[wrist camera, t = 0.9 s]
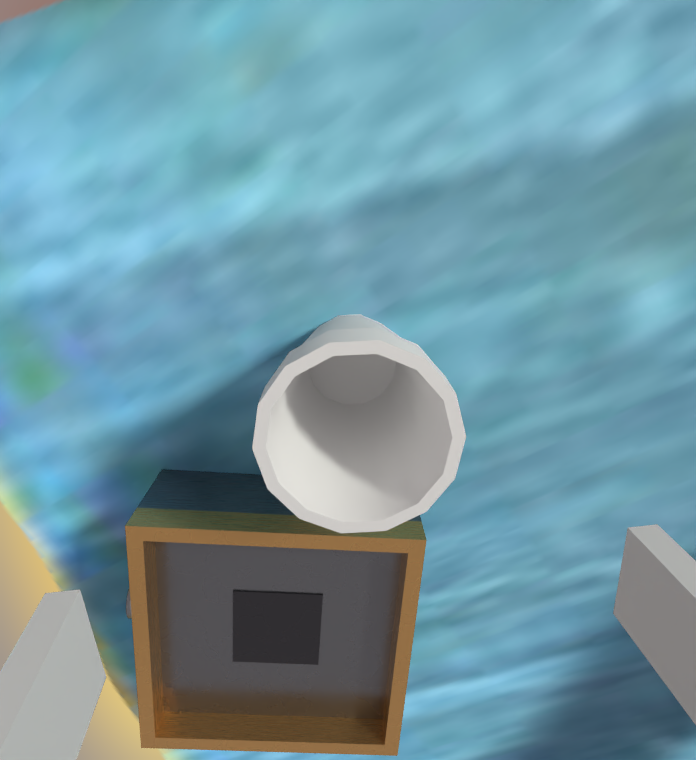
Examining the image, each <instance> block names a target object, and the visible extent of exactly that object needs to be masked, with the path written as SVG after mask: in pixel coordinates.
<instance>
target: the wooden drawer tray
mask: <svg viewBox="0 0 696 760" xmlns="http://www.w3.org/2000/svg"><path fill="white" fill-rule="evenodd" d="M125 531H126V545H127V559H128V572H129V586H130V587H129V590H128V594H127V601H126V614H127V617H128V618H129V619H132V627H133V641H134V655H135V668H136V682H137V696H138V709H139V723H140V737H141V748H167V749H200V750H232V751H265V752H298V753H330V754H363V755H395V756H397V755H398V747H399V740H400V732H401V725H402V717H403V710H404V703H405V695H406V688H407V680H408V673H409V665H410V658H411V651H412V643H413V636H414V628H415V621H416V613H417V606H418V599H419V591H420V584H421V576H422V569H423V561H424V554H425V547H426V537H425V533H424V529H423V525H422V522H421V518H420V515H418V516H416V517H414V518H412V519H410V520H408V521H406V522H404V523H402V524H399V525H397V526H395V527H393V528H391V529H389V530H387V531H376V532H358V533H339V532H336V531H333V530H330V529H327V528H324V527H321V526H318V525H316V524H313V523H310V522H307V521H304V520H301V519H299V518H298V517H297V516H296V515H295V514H294V513H292V512H291V511H290V510H289V509H288V508H287V507H286V506H285V505H284V504H283V503H282V502H281V501H280V500H279V499H278V498H276V497H275V496H274V495H273V494H272V493H271V492H270V491H269V490H268V489H267V487H266V484H265V481H264V479H263V476H262V475H255V474H236V473H217V472H197V471H178V470H161V472H160V473H159V475H158V476H157V478H156V479H155V481H154V482H153V484H152V486H151V487H150V489H149V490H148V492H147V493H146V495H145V496H144V498H143V499H142V501H141V502H140V504H139V505H138V507H137V508H136V510H135V512H134V513H133V515H132V516H131V518H130V519H129V521H128V522H127V524H126V525H125Z"/></svg>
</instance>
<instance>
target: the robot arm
mask: <svg viewBox="0 0 696 760" xmlns="http://www.w3.org/2000/svg"><path fill="white" fill-rule="evenodd" d="M613 614H614V615H615V617H616V618H617V619H618V621H619V622H620V623H621V625H622V626H623V627H624V629H625V630H626V631H627V633H628V634H629V635H630V637H631V638H632V640H633V641H634V642H635V644H636V645H637V646H638V648H639V649H640V650H641V652H642V653H643V654H644V656H645V657H646V658H647V660H648V661H649V663H650V664H651V665H652V667H653V668H654V669H655V671H656V672H657V673H658V675H659V676H660V677H661V679H662V680H663V681H664V683H665V684H666V686H667V687H668V688H669V690H670V691H671V692H672V694H673V695H674V696H675V698H676V699H677V700H678V702H679V703H680V704H681V706H682V707H683V709H684V710H685V711H686V713H687V714H688V715H689V717H690V718H691V719H692V721H693V722H694V723H695V725H696V561H695V560H694V559H693V558H692V557H691V556H690V555H689V554H688V553H687V552H686V551H685V550H683V549H682V548H681V547H680V546H679V545H678V544H677V543H676V542H675V541H674V540H673V539H672V538H671V537H670V536H669V535H668V534H667V533H666V532H665V531H664V530H662V529H661V528H660V527H659V526H658V525H657V524H656V525H648V526H639V527H630V528H628V529H627V535H626V541H625V547H624V553H623V559H622V565H621V571H620V577H619V582H618V588H617V594H616V600H615V606H614V612H613ZM105 679H106V675H105V671H104V668H103V665H102V661H101V658H100V655H99V651H98V648H97V645H96V641H95V638H94V635H93V631H92V628H91V625H90V621H89V618H88V614H87V611H86V608H85V604H84V601H83V598H82V594H81V591H80V589H79V590H70V591H61V592H53V593H45V595H44V596H43V598H42V600H41V601H40V603H39V605H38V607H37V609H36V610H35V612H34V614H33V615H32V617H31V619H30V621H29V622H28V624H27V626H26V627H25V629H24V631H23V633H22V634H21V636H20V638H19V640H18V641H17V643H16V645H15V646H14V648H13V650H12V652H11V653H10V655H9V657H8V659H7V660H6V662H5V664H4V666H3V667H2V669H1V671H0V760H77V757H78V754H79V751H80V748H81V746H82V743H83V740H84V737H85V735H86V732H87V729H88V726H89V723H90V721H91V718H92V715H93V712H94V709H95V707H96V704H97V701H98V698H99V696H100V693H101V690H102V687H103V685H104V682H105Z"/></svg>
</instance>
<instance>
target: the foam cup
mask: <svg viewBox="0 0 696 760" xmlns="http://www.w3.org/2000/svg"><path fill="white" fill-rule="evenodd" d="M465 439H466V434H465V430H464V425H463V421H462V417H461V412H460V408H459V404H458V399H457V395H456V393H455V391H454V389H453V388H452V386H451V385H450V383H449V381H448V380H447V378H446V377H445V376H444V374H443V373H442V372H441V371H440V370H439V369H438V367H437V366H436V365H435V364H434V363H433V362H432V361H431V359H430V358H429V357H428V356H427V355H426V354H425V353H424V351H423V350H422V349H421V348H420V347H419V346H418V345H417V344H415V343H413V342H410V341H408V340H405V339H403V338H401V337H399V336H398V335H397V334H395V333H394V332H392V331H391V330H390V329H388V328H387V327H386V326H384V325H383V324H381V323H380V322H377V321H375V320H372V319H370V318H368V317H365V316H363V315H360V314H358V315H339V316H337V317H335V318H333V319H331V320H329V321H328V322H326V323H324V324H322V325H320V326H319V327H318V328H317V329H316V330H315V331H314V332H313V333H312V334H311V335H310V336H309V338H308V339H307V340H306V341H305V342H304V343H303V344H302V345H301V346H299V347H297V348H295V349H293V350H292V351H290V352H289V353H288V355H287V356H286V358H285V359H284V360H283V362H282V363H281V365H280V366H279V367H278V369H277V370H276V372H275V373H274V375H273V376H272V377H271V379H270V380H269V382H268V383H267V384H266V386H265V388H264V390H263V393H262V395H261V398H260V401H259V403H258V408H257V416H256V423H255V431H254V438H253V446H252V449H253V452H254V455H255V457H256V460H257V463H258V465H259V468H260V471H261V473H262V476H263V479H264V481H265V484H266V487H267V489H268V490H269V491H270V492H271V493H272V494H273V495H274V496H275V497H276V498H278V499H279V500H280V501H281V502H282V503H283V504H284V505H285V506H286V507H287V508H288V509H289V510H290V511H291V512H292V513H294V514H295V515H296V516H297V517H298V518H299V519H301V520H304V521H307V522H310V523H313V524H316V525H318V526H321V527H324V528H327V529H330V530H333V531H336V532H339V533H358V532H376V531H387V530H389V529H391V528H393V527H395V526H397V525H399V524H402V523H404V522H406V521H408V520H410V519H412V518H414V517H416V516H418V515H421V514H423V513H425V512H426V511H427V510H428V509H429V508H430V507H431V506H432V505H433V503H434V502H435V501H436V500H437V499H438V498H439V497H440V495H441V494H442V493H443V492H444V491H445V490H446V488H447V487H448V486H449V485H450V484H451V483H452V482H453V480H454V479H455V477H456V473H457V469H458V465H459V462H460V458H461V454H462V450H463V447H464V443H465Z"/></svg>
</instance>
